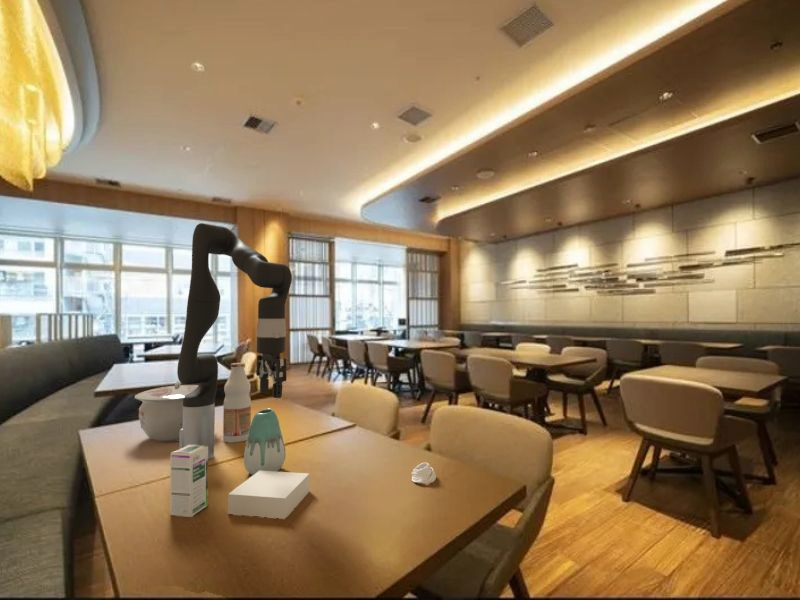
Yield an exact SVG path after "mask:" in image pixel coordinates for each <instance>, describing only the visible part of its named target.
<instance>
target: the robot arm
mask: <svg viewBox="0 0 800 600" xmlns="http://www.w3.org/2000/svg"><path fill="white" fill-rule="evenodd" d="M191 244H192V246H191V271H190V273H191V274H190V282H189V283H190V284H189V291H188V295H187V297H188V298H187V306H186V317H185V325H184V333H183V338H182V343H181V347H180V353H179V357H178V362H177V368H176V369H177V371H176V372H177V373H176V374H177V378H178V382H180V384H181V385H198V387H197V388H196V389H195V390H194V391H193V392H191V393H189V394H187V395H186V396H185V397H184V398H183V427H182V429H181V430H180V431H179V440H178V441H179V443H178V450H179V449H181V448H183V447H185V446H187V445H206V446H208V461H209V460H212V459H213V458H214V456H215V415H216V414H215V411H216V410H215V407H216V406H215V405H216V396H217V394H218V393H217V391H218V379H219V378H218V377H219V363H218V359H217V358H216V356H215V355H214V354H213V353H201V354H198V352H199V348H200V345H201V342H202V340H203V339H204V338H205V336H206V334H207V333H208V331H209V330H210V329H211V328H212V326H213V325H214V324H215V323H216V321H217V319H218V317H219V314H220V313H219V312H220V305H221V294H220V290H219V288H218V286H217V284H216V282H215V279H214V278H213V276H212V273H211V269H210V266H209V259H210V257H209V255H210V254H211V255H219V256H221V255H224V256H228V257H231V260H232V262H233V265H235V267H236V268H237V269H238V270H240V271H241V272H243V273H244V274H246V275H247V276H248V278H249V279H250V281H251V283H253V284H254V285H255V286H257V287H259V288H262V289H263V288H265V289H272V290H271V292H270V295H269V296H265V297H264V296H263V297H261V298H260V299H259V300H258V305H257V308H258V310H257V323H256V324H257V325H256V353H258V354H257V356H256V370H255V371H256V372H255V374H256V376H257V377H258V379H259V393H261V394H263V393H264V394H265V393H268V392H269V390H270V389H269V387H270V386H269V385H270V383H269V382H270V381H269V380H270V379H269V377H270V378H271V380H272V398H274V399H277V398H281V397H282V396H283V395H282V393H283V391H282V389H283V384H282V383H284V382H287V358H281V354H283V353H285V352H286V346H287V345H286V343H287V342H286V340H287V339H286V338H287V334H286V330H287V329H286V302H287V299H288V295H289V291H290V288H291V285H292V280H293V276H292V271H291V269H290V267H289V266H288V265H286V264H283V263H278V262H269V261H268V259H267V258H266V256H264V255H263V253H260V252H259V251H257V250H255V249H253V248H252V247H250V246H249V245H247V244H246V243H245V242H244V241H242V240H241V239H240V238H239V237H238V236H237V235H236V234H235V233H234V232H233V230H231V229H230V228H228V227H226V226H223V225H218V224H212V223H208V222H199V223H198V224H196V226H195V228H194V230H193V234H192V243H191Z"/></svg>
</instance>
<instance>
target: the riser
mask: <svg viewBox="0 0 800 600" xmlns="http://www.w3.org/2000/svg"><path fill="white" fill-rule="evenodd" d="M309 493H310V473H305V472H292V471H289V472H288V471H261V470H259V471H258V472H257V473H255V474H254V475H251V476H250V477H248V478H247V479H246V480H245V481H244V482H242V483H241V484H240V485H238V486H237V487H235V488H234V489H233V490H232V491H230V492H229V493H228V496H227V498H228V499H227V515H229V514H233V515H232V516H241V515H249V516H248V517H253V516H260V517H259V518H264V517H267V519H276V518H279V520H286V519H287V518H288V517H289V516H290V514H291V513H292V512H293V511H294V510H295V509H294V508H297V506H298V505H299V504H301V502H302V501H303V499H304V498H305V497H306V496H307V495H308V494H309ZM286 517H287V518H286ZM285 518H286V519H285Z"/></svg>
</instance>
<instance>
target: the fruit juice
mask: <svg viewBox="0 0 800 600" xmlns="http://www.w3.org/2000/svg"><path fill="white" fill-rule="evenodd" d="M245 367H246V364H245V362H233V363H230V369H231V371H230V373H229V376H228V378H227V380H226V383H225V384H224V387H223V389H224V394H225V397H224V400H223V419H222V420H223V423H222V424H223V427H222V428H223V429H222V430H223V431H222V433H223V434H222V439H223V442H226V443H231V444H233V443H234V444H235V443H241V442H244V441H247V439H248V436H249V432H250V428H251V423H252V418H251V417H252V416H251V415H252V413H251V412H252V411H251V410H252V408H251V407H252V400H251V396H250V392H251V386H252V385H251V382H250V381H249V379H248V377H247V374H246V371H245Z"/></svg>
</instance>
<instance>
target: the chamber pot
mask: <svg viewBox="0 0 800 600" xmlns="http://www.w3.org/2000/svg"><path fill="white" fill-rule="evenodd" d="M198 385H199V384H189V385H184V384H181V383H180V381H176V382H175V383H174V385H167V386H161V387H156V388H151V389H149V390H145V391H141V392H139V393H137V394H135V395H134V399H135V400H138V401H141V405H140V406H139V408H138V419H139V423H140V428H141V430H142V431H143V432H144V433H145V435H146V436H147V437H148V438H149V439H151V440H153V441H156V442H157V441H158V442H163V441H169V442H178V441H179V431H180V430H181V429H182V427H183V398H184V397H185V396H186V395H187V394H189V393H191V392H193V391H194V390H195V389H196V388H197V387H198ZM177 440H178V441H177Z"/></svg>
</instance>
